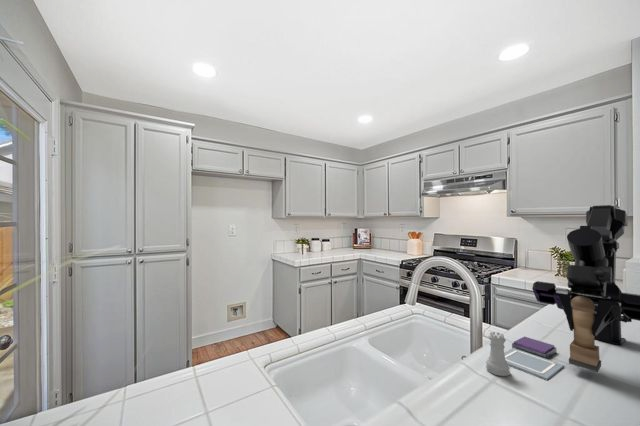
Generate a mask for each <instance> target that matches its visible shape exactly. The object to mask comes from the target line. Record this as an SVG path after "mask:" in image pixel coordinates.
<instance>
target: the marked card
mask: <svg viewBox="0 0 640 426" xmlns="http://www.w3.org/2000/svg"><path fill="white" fill-rule="evenodd" d="M504 355H505V359H506V361H507V364H508V365H509V367H512V368H514V369H517V370H520V371H523V372H525V373H527V374H530V375H533V376H535V377H538V378H540V379H542V380H546V381H548V380H549V379H550V378H552V377H553V376H555V375H556V374H557V373H558V372H559V371H561V370H562V369H564V368H565V365H564V364H563V363H562V364H561V363H559V362H556V361H553V360H551V359H549V358H548V359H545V358H542V357H539V356H536V355H533V354H530V353H527V352H524V351H521V350H518V349H515V348H512V347H511V348H510V349H509V350H507V351H504Z"/></svg>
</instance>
